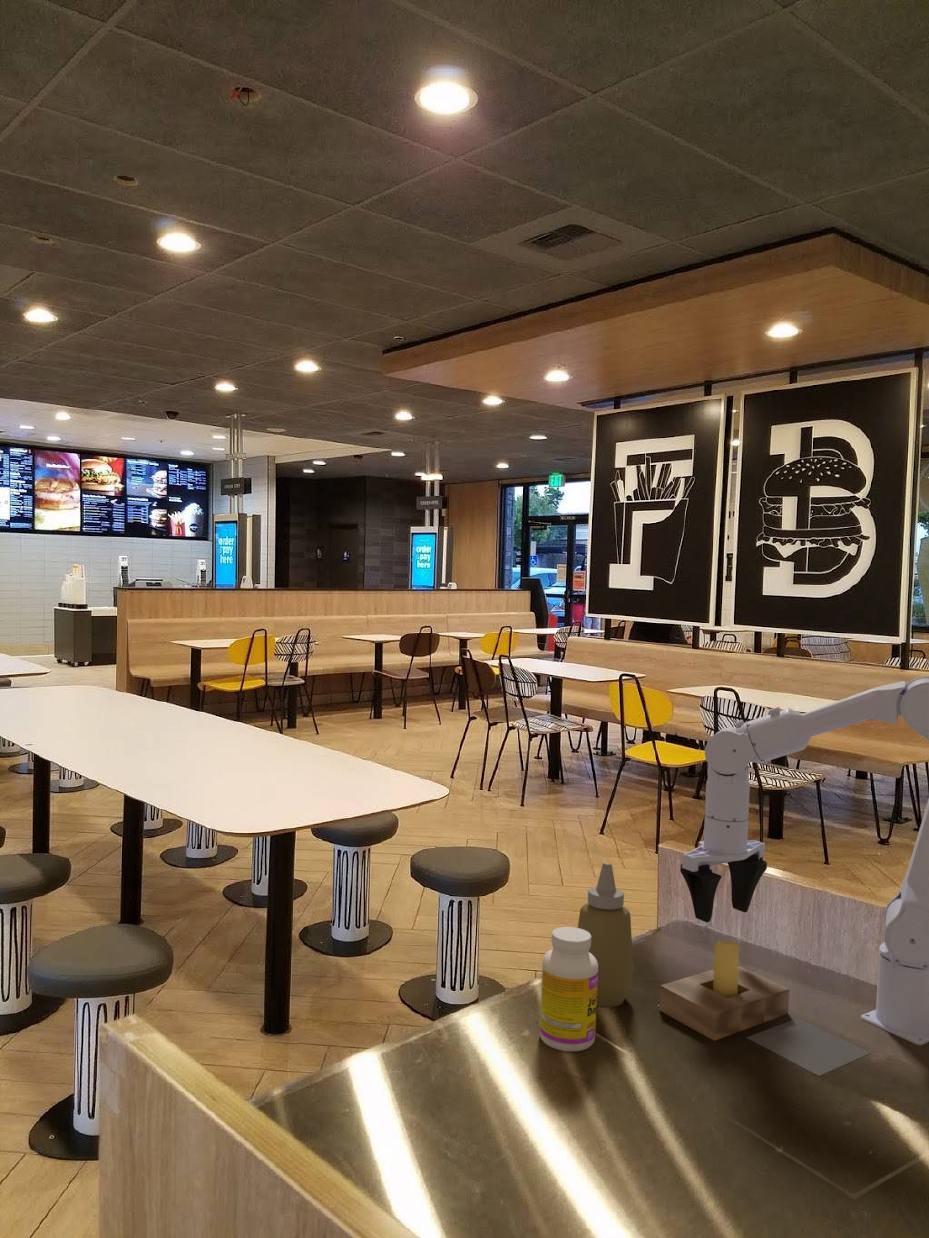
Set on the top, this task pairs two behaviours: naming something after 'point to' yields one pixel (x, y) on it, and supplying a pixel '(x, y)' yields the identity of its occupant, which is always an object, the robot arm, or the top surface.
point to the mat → (808, 1046)
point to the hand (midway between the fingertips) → (721, 914)
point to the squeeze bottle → (609, 938)
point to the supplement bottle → (569, 991)
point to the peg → (726, 968)
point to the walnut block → (723, 1003)
